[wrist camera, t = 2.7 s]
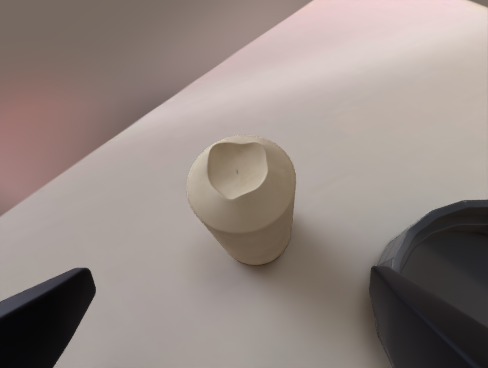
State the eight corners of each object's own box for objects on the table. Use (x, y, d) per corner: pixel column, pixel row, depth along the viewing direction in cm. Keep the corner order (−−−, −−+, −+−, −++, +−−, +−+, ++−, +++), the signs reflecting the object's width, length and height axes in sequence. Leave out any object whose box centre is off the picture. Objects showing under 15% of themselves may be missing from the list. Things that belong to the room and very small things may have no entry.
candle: (208, 227, 21) (154, 163, 12) (259, 185, 22) (243, 99, 14) (251, 282, 19) (223, 251, 10) (306, 232, 20) (325, 165, 11)
